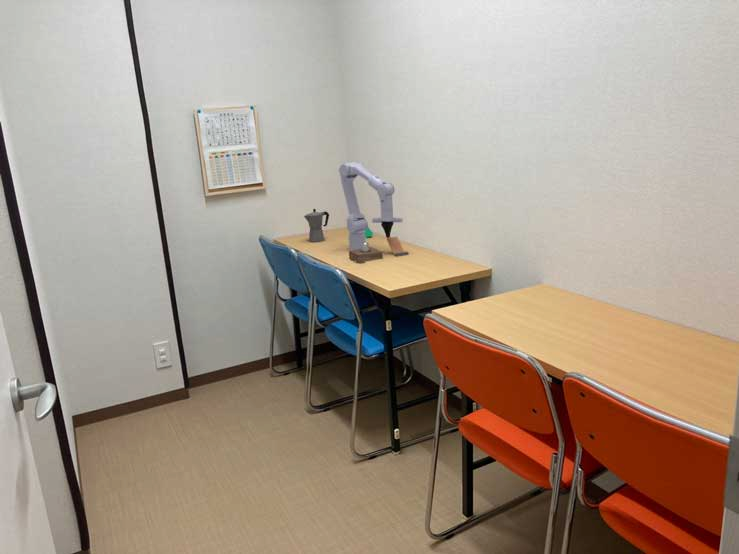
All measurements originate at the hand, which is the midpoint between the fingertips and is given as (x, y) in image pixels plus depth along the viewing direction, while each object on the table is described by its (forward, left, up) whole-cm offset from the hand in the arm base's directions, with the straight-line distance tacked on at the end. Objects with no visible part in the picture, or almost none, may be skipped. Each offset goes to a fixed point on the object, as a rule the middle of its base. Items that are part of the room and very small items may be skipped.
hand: (388, 237), depth 283 cm
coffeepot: (-57, -15, -9) cm, 59 cm away
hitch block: (+1, -13, -9) cm, 16 cm away
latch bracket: (+7, +3, -9) cm, 12 cm away
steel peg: (+1, -13, -9) cm, 16 cm away
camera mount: (-48, +7, -9) cm, 49 cm away
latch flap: (+1, +3, -5) cm, 6 cm away
